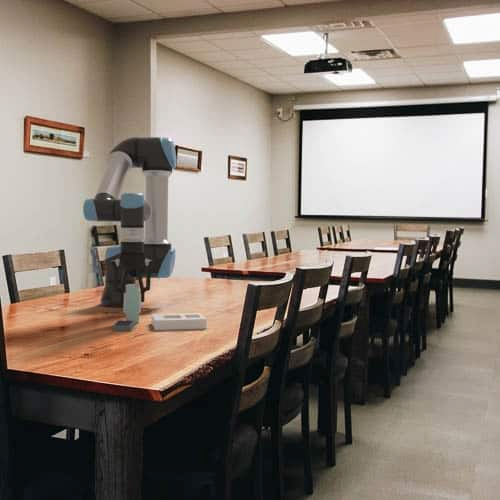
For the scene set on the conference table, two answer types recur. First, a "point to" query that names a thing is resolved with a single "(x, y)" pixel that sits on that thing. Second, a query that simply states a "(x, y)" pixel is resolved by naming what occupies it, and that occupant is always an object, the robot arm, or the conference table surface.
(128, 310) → the pale green block
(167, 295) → the conference table surface
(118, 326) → the phone
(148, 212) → the robot arm
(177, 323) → the outlet board
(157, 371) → the conference table surface
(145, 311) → the conference table surface
